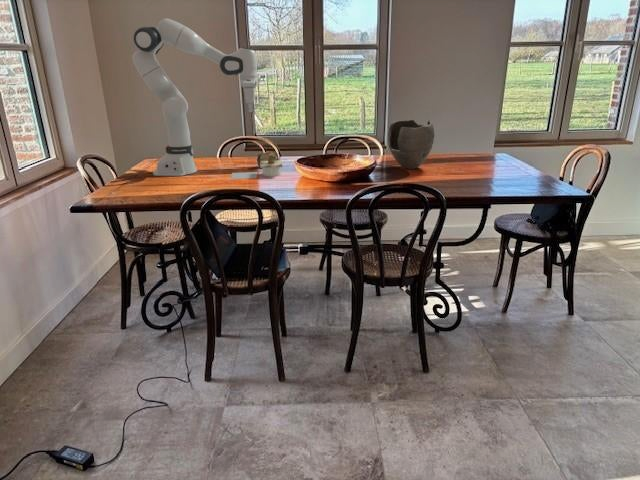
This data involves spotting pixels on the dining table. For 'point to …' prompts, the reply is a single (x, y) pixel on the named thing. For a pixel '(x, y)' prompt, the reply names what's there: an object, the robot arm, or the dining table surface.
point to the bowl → (271, 171)
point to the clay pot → (410, 142)
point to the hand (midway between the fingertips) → (251, 110)
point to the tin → (266, 156)
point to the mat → (244, 175)
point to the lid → (270, 162)
